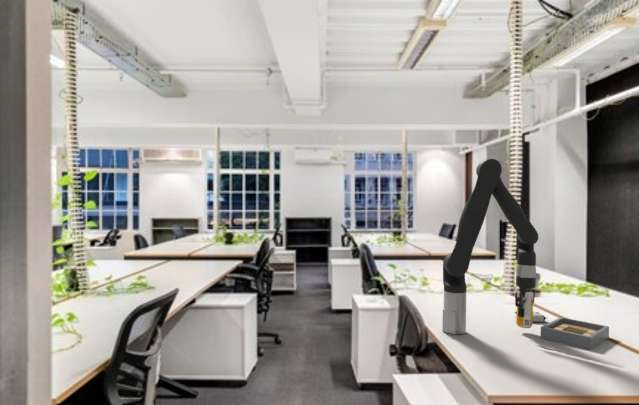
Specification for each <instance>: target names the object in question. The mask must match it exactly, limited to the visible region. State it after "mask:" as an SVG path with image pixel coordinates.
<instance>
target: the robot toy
mask: <svg viewBox="0 0 639 405" xmlns="http://www.w3.org/2000/svg"><path fill="white" fill-rule="evenodd" d="M514 314H516V316H517V310H515V311H514ZM547 318H549V317H548V316H546V317H545V315H543V314H542V313H540V312H539V311H538V312H537V311H536V312H535V311H533V320H532V323H543V322H545V321H546V319H547Z"/></svg>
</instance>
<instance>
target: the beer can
mask: <svg viewBox="0 0 639 405" xmlns="http://www.w3.org/2000/svg"><path fill="white" fill-rule="evenodd" d="M517 292H519V289H518V290H517ZM522 296H523V295H522ZM526 297H527V303H525V307H524V317H519V316H518V307H517V306H516V311H517V315H516V316H515V317H516V320H515V322H516V323H515V324H516V325H517V327H519V328H522V329H530V328H532V327H533V322H532V320H533V312H534V304H533V292H532V291H531V290H530V291H529V292H526V293H525V297H524V298H523V297H522V300H525V298H526Z"/></svg>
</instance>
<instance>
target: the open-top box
mask: <svg viewBox="0 0 639 405" xmlns="http://www.w3.org/2000/svg"><path fill="white" fill-rule="evenodd" d="M562 323H564V324H569V325H573V326H578V327H583V328H588V329H593V330H598V331H597V332H595V333H593V334H592V335H590V336H585V335H580V334H575V333H571V332H566V331H562V330H557V329H552V328H554V327H556V326H558V325H560V324H562ZM609 338H610V326H608V325H603V324H597V323H593V322H588V321H582V320H577V319H574V318H573V319H572V318H567V317H558V318H556V319H555V320H552V321H550V322H548V323H546V324H544V325H542V326H540V339H544V340H547V341H550V342H551V341H552V342H555V343H556V342H557V343H559V344H565V345H569V346H573V347H577V348H580V349H581V348H582V349H586V350H589V351H591V350H593V349H595V348H596V347H598V346H599V345H601V344H602V343H604V342H605V341H606V340H608V339H609Z"/></svg>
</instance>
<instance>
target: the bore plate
mask: <svg viewBox="0 0 639 405" xmlns="http://www.w3.org/2000/svg"><path fill="white" fill-rule="evenodd" d="M552 329H557V330H562V331H566V332H571V333H575V334H580V335H585V336H590V335H592V334H593V333H595V332H597V331H598V330H593V329H588V328H583V327H578V326H573V325H569V324H564V323H562V324H560V325H558V326H556V327H554V328H552Z"/></svg>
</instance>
